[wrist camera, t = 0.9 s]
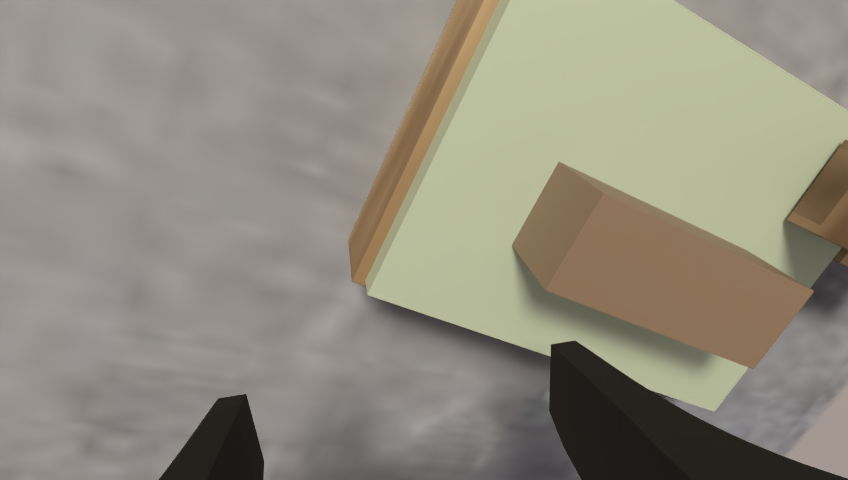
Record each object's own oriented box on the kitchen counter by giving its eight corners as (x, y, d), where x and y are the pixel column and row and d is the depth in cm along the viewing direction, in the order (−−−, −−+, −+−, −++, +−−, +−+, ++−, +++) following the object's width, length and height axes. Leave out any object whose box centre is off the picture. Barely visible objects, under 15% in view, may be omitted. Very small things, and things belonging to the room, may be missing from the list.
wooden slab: (895, 170, 24) (1008, 205, 20) (732, 380, 28) (802, 445, 24) (491, -74, 18) (539, -96, 14) (348, 239, 21) (353, 296, 17)
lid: (888, 145, 20) (1015, 179, 16) (699, 395, 23) (768, 469, 19) (534, -75, 15) (601, -98, 11) (365, 280, 18) (374, 349, 15)
